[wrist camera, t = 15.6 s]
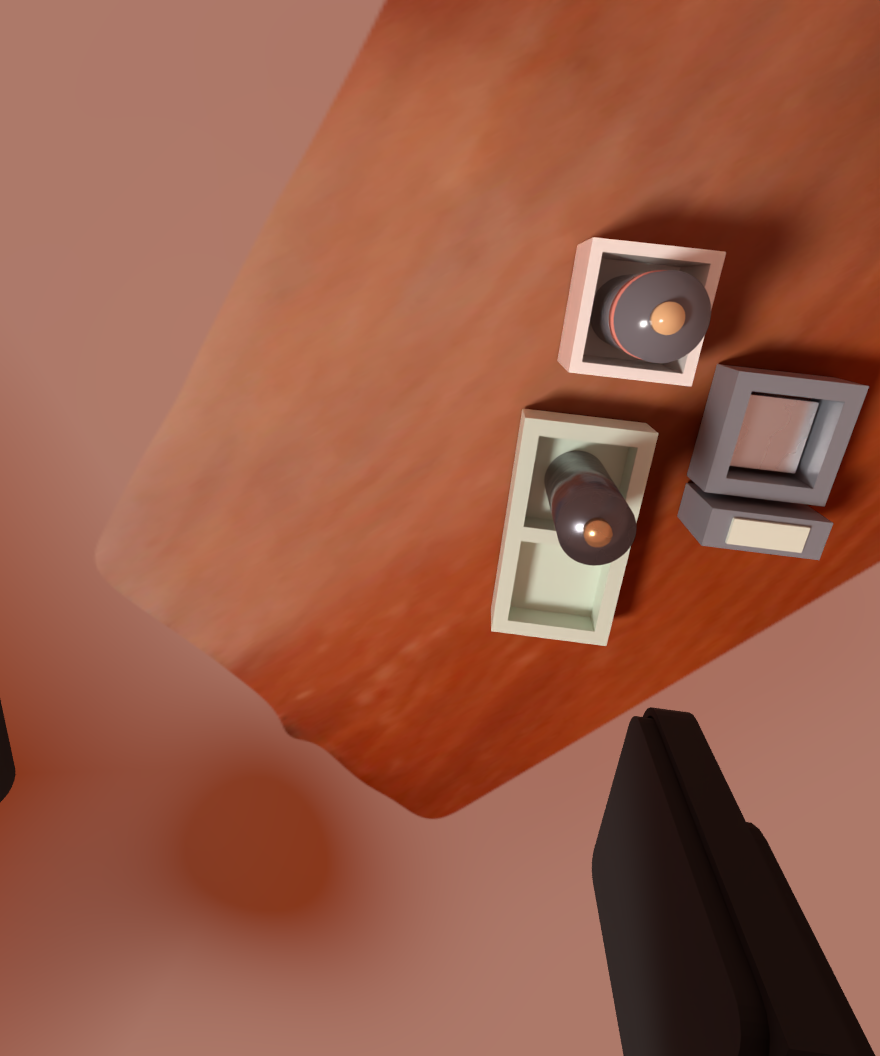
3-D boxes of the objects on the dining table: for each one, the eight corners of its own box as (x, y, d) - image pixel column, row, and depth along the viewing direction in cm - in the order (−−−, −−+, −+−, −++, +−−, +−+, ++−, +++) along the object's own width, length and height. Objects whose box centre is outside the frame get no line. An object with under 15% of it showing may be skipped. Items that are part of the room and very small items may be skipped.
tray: (522, 408, 39) (525, 417, 36) (646, 423, 38) (658, 433, 36) (491, 609, 44) (491, 631, 41) (598, 623, 44) (606, 645, 41)
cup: (577, 245, 35) (610, 228, 25) (690, 257, 35) (766, 245, 25) (557, 360, 37) (580, 384, 28) (663, 372, 37) (722, 401, 28)
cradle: (717, 363, 37) (752, 375, 32) (835, 377, 36) (888, 391, 32) (675, 516, 41) (701, 547, 36) (782, 529, 40) (823, 562, 35)
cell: (549, 447, 38) (565, 492, 30) (611, 453, 38) (646, 501, 29) (539, 505, 40) (552, 565, 31) (600, 512, 40) (630, 574, 31)
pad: (735, 390, 37) (744, 394, 36) (806, 398, 37) (819, 402, 35) (715, 458, 39) (723, 464, 37) (783, 466, 38) (795, 473, 37)
